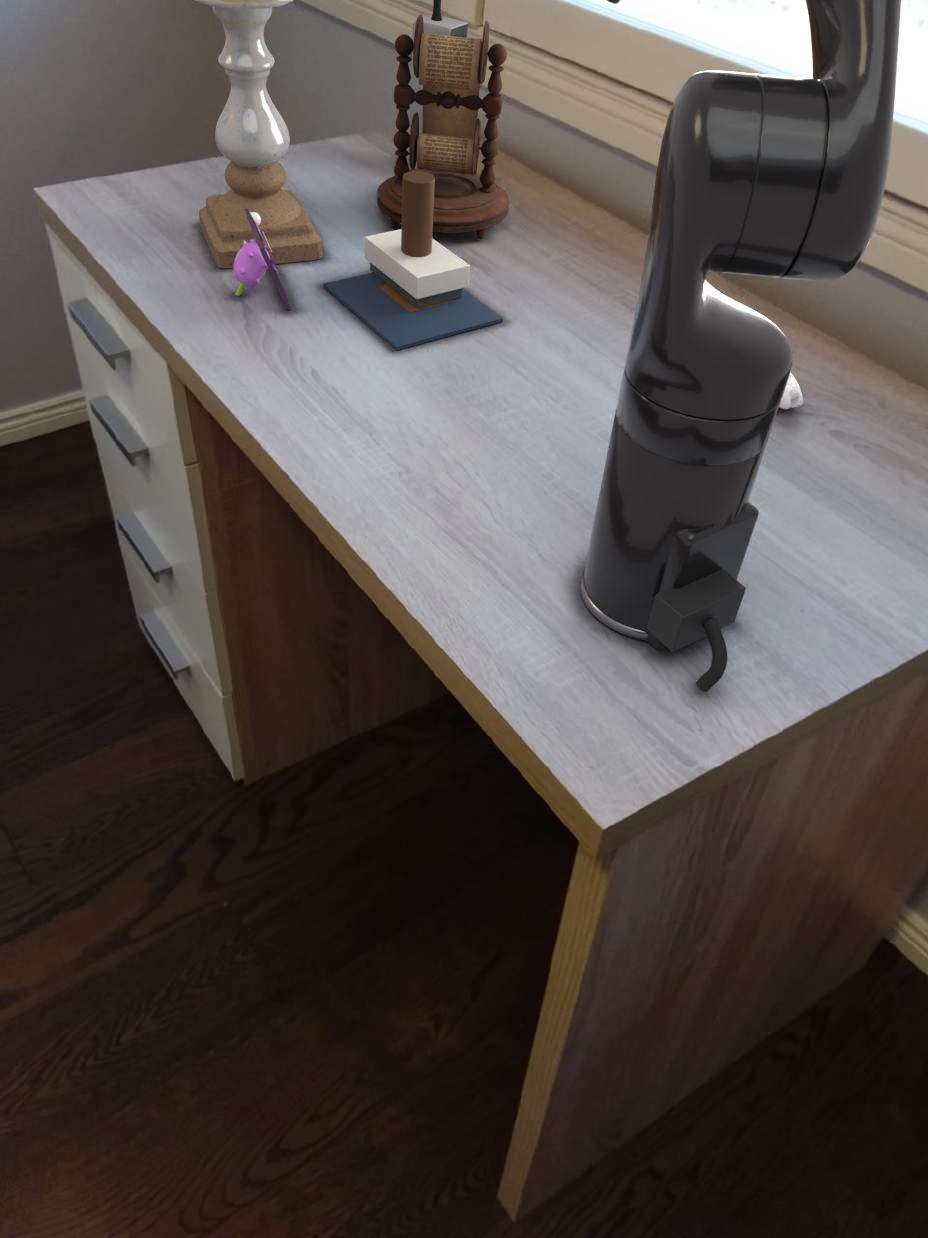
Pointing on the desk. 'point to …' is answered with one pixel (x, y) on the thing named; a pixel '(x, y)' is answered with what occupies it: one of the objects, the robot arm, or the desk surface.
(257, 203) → the candle holder
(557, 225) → the desk surface
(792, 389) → the white rounded piece
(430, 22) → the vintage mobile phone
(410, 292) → the stamp
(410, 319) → the mat
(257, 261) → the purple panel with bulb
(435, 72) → the scroll
